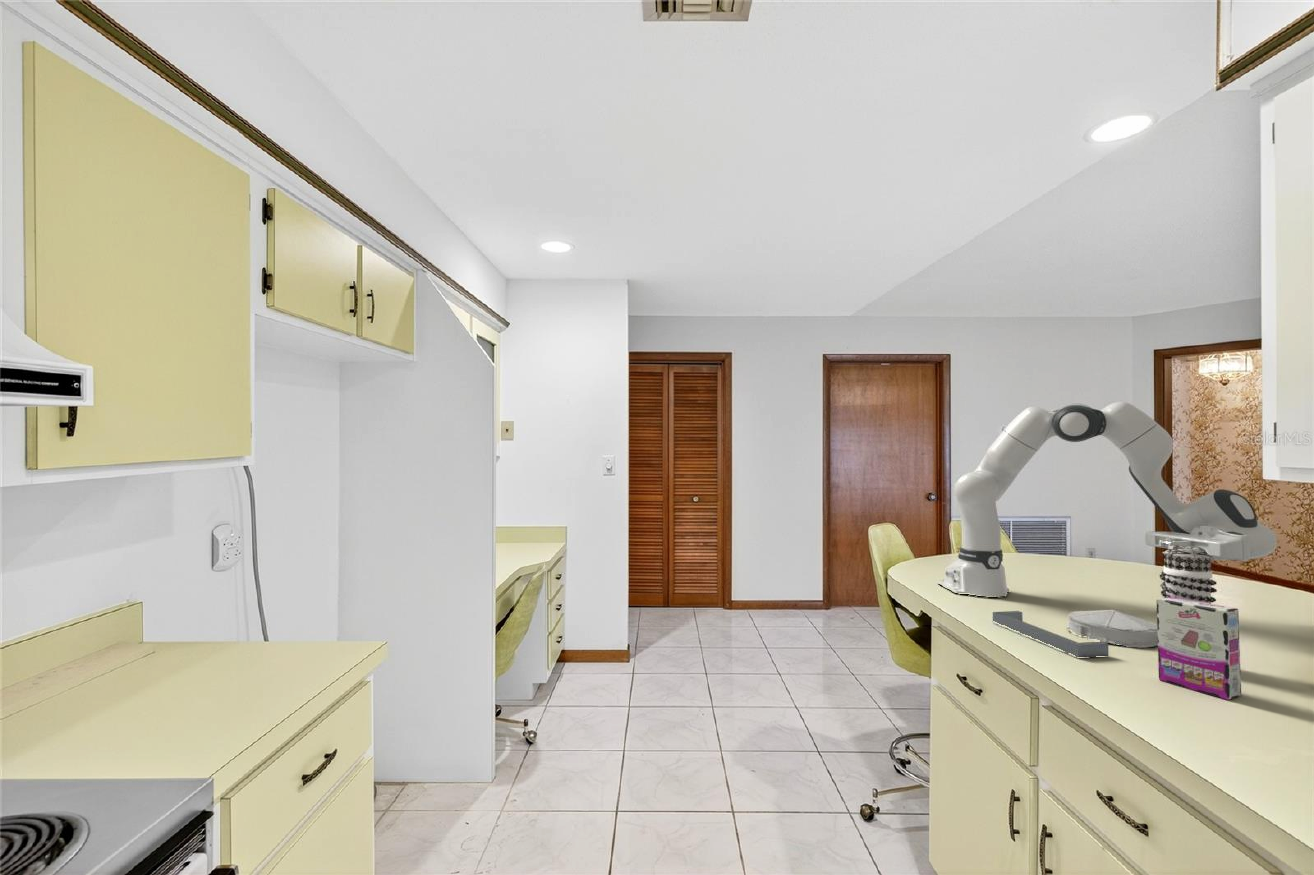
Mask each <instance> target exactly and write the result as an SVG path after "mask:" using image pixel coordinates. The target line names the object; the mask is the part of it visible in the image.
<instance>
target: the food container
mask: <svg viewBox="0 0 1314 875" xmlns="http://www.w3.org/2000/svg"><path fill="white" fill-rule="evenodd" d="M1067 616H1068V624H1069V627H1068V629H1070V630H1072V631H1073V632H1075V633H1076V634H1078V635H1081V636H1087V637H1089V639H1097V640H1100V641H1103V642H1105V643H1108V644H1109V643H1110V644H1112V645H1115V644H1119V645H1124V646H1126V647H1125V648H1138V649H1142V648H1145V649H1146V648H1151V647H1157V646H1158V631H1157V623H1156V624H1155V623H1153V622H1150V621H1148V620H1146V619H1143V618H1140V617H1136V616H1135V615H1131V614H1128V613H1125V612H1123V611H1122V612H1121V611H1119V610H1116V609H1108V610H1107V609H1105V610H1104V609H1103V610H1102V609H1100V610H1077V611H1071V612H1069V613H1068V614H1067ZM1124 646H1123V647H1124Z"/></svg>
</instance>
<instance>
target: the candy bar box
mask: <svg viewBox="0 0 1314 875" xmlns="http://www.w3.org/2000/svg"><path fill="white" fill-rule="evenodd" d="M1239 618H1240V617H1239V608H1236V607H1230V606H1225V605H1219V604H1214V603H1211V604H1209V603H1203V602H1197V601H1192V600H1186V599H1180V598H1174V597H1164V596H1163V597H1160V598H1157V599H1156V622H1157V623H1156V625H1157V631H1158V645H1157V658H1158V659H1157V660H1158V661H1157V662H1158V664H1157V665H1158V666H1157V667H1158V668H1157V669H1158V680H1159V681H1161V680H1163V681H1162V682H1164V681H1165V682H1164V683H1167V682H1169V683H1168V684H1171V685H1174V686H1177V685H1179V686H1178V687H1181V686H1182V687H1181V688H1184V687H1185V689H1188V690H1192V691H1196V692H1199V693H1201V694H1206V695H1208V696H1213V697H1216V698H1220V699H1222V700H1223V699H1224V700H1226V701H1231V700H1234V699H1236V698H1240V697H1241V696H1242V679H1241V677H1242V676H1241V652H1240V650H1241V649H1240V647H1241V646H1240V624H1239V620H1240V619H1239Z"/></svg>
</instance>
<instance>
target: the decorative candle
mask: <svg viewBox="0 0 1314 875" xmlns="http://www.w3.org/2000/svg"><path fill="white" fill-rule="evenodd" d="M1161 553H1162V554H1163V555H1164V559H1163V560H1164V564H1163V570H1162V571H1161V573H1160V574H1159V578H1160V580H1161V581H1163V582H1161V584H1160V585H1159V586H1160V587H1161V589H1162V590H1161V591H1160V594H1161V596H1162V597H1163V598H1164V597H1174V598H1180V599H1186V600H1192V601H1197V602H1203V603H1209V604H1212V603H1214V602H1216V601H1217V599H1216V598H1215V597H1213V596H1212V594H1214V593H1217V592H1218V591H1217V589H1216V588H1214V587H1212V586H1215V585H1217V581H1216V580H1214V578H1213V570H1212V561H1211V557H1212V556H1210V555H1208V553H1207V552H1206V551H1205V550H1204V549H1202V548H1199V547H1192V546H1170V547H1169V548H1168V549H1167V548H1166V550H1165V551H1162V552H1161Z"/></svg>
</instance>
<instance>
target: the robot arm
mask: <svg viewBox="0 0 1314 875" xmlns="http://www.w3.org/2000/svg"><path fill="white" fill-rule="evenodd" d="M1098 436H1101V437H1104V438H1106V439H1108V441H1110V442H1111V443H1112V444H1113V445H1115V447H1116V448H1117V449H1119V450H1120V451H1121V453H1123V455H1124V456H1125V458H1126V460H1127V461H1128V464H1129V466H1128V472H1129V474H1130V476H1131V477H1132V479H1133V480H1134V482H1135V483H1136V485H1137V486H1138V488H1140V490H1142V492H1143V493H1144V494H1145V496H1146V497H1147V498H1148V499H1149V500H1150V502H1151V503H1152V504H1153V505H1154V507H1155V508H1156V509H1157V511H1159V512H1158V513H1160V514H1161V516H1162V517H1163V519H1164V520H1165V522H1166V524H1167V525H1168V527H1169V529H1170V531H1147V532H1145V535H1144V541H1145V542H1144V543H1145V545H1147V546H1150V547H1155V548H1156V547H1157V548H1162V549H1166V550H1167V549H1168V548H1169V547H1170V546H1192V547H1199V548H1202V549H1204V550H1205V551H1206V552H1207V553H1208V555H1210V556H1212V557H1211V562H1212V561H1214V562H1215V561H1216V562H1217V561H1219V562H1220V561H1235V562H1250V560H1251V559H1252V560H1254V559H1259V558H1265V557H1266V556H1268V555H1271V554H1272V553H1273V552H1274V551H1275V550H1276V548H1277V546H1278V537H1277V535H1276V533H1275V531H1274V530H1272V528H1270V527H1269V526H1266V525H1265V524H1263V523H1262V522H1260V521H1259V520H1258V519H1257V518H1258V517H1257V513H1256V511H1255V509H1254V507H1253V505H1252V504H1251V502H1250V501H1249V500H1248V499H1247V498H1246V497H1244V496H1243V495H1241V494H1239V493H1237V492H1235V491H1232V490H1229V489H1224V488H1222V489H1217V490H1216V489H1215V490H1214V491H1212V492H1209V493H1207V494H1205V495H1203V496H1201V497H1199V498H1197V499H1194V500H1191V502H1189V503H1184V502H1183V501H1181V500H1180V499H1179V498H1178V497H1177V495H1176V494H1175V493H1174V492H1173V490H1172V488H1170V487H1169V485H1168V484H1167V483H1166V482H1165V481H1164V480H1163V476H1162V471H1163V469H1164V468H1163V467H1164V466H1165V464H1166V463H1167V461H1168V460H1169V459H1170V457H1171V456H1172V452H1173V450H1174V440H1173V438H1172V436H1171V435H1170V433H1169V432H1168V431H1167V429H1165V428H1164V427H1163V426H1161V425H1160V424H1159V423H1158V422H1156V421H1155V420H1154V419H1153V418H1152V417H1151V416H1149V415H1148V414H1147V413H1145V412H1144V411H1142V410H1141V409H1139V408H1137V407H1136V406H1134V405H1133V404H1131V403H1130V402H1126V401H1117V402H1112V403H1110V404H1107V406H1104V407H1103V408H1101V409H1096V408H1093V407H1091V406H1088V405H1087V404H1083V403H1070V404H1067V405H1064V406H1063V407H1061V408H1058V409H1057V410H1054V411H1049V410H1046V409H1045V408H1042V407H1038V406H1029V407H1027V408H1025V409H1023V410H1022V411H1021V412H1020V413H1018V415H1017V416H1015V417H1014V418H1013V419H1012V420H1011V421H1010V422H1009V424H1007V425H1006V427H1005V428H1004V429H1003V430H1002V432H1000V434H999V435H998V436H997V438H996V439H995V440H994V441H993V443H992V444H991V445H990V446H989V448H988V449H986V453H985V454H984V456H983V458H982V460H981V461H980V463H979V464H978V466H977V467H976V468H975V470H973V471H970V472H967V473H964V474H963V475H961V476H960V478H958V479H957V480H956V482H955V485H954V494H955V496H956V501H957V507H958V513H959V518H960V524H961V547H959V548H956V552H958V555H957V559H955V560H954V561H953V562H952V563H950V564H949V565H948V566H946V568H945V569H944V570H945V571H944V579H941V580H937V581H936V583H937V582H938V583H939V584H942V585H944V586H945V587H947V588H948V589H951V590H953V591H954V592H957V593H970V594H975V595H981V596H993V597H994V596H996V597H998V596H1005V595H1007V594H1008V593H1007V592H1009V591H1010V588H1008V586H1007V577H1006V570H1005V567H1004V565H1003V563H1002V562H1003V560H1004V559H1003V557H1004V554H1003V549H1002V548H1001V547H1002V546H1001V541H1002V540H1001V539H1002V538H1001V523H1000V521H999V515H998V511H997V502H998V501H999V500H1000V499H1001V498H1002V497H1003V495H1004V494H1005V493H1006V491H1007V490H1008V489H1009V488H1010V486H1011V485H1012V484H1013V483H1014V481H1015V479H1016V478H1017V476H1018V475H1019V474H1020V472H1021V471H1022V469H1024V468H1025V466H1026V465H1027V464H1028V462H1030V461H1031V459H1032V458H1033V457H1034V455H1035V454H1036V453H1037V452H1038V451H1039V450H1040V449H1041V447H1042V446H1043V445H1044V444H1045V443H1046V442H1047V441H1048V440H1050V438H1053V437H1058V438H1060V439H1061V440H1063V441H1067V442H1069V443H1079V442H1084V441H1087V440H1091V439H1092V438H1095V437H1098ZM1009 593H1010V592H1009ZM1007 596H1008V595H1007ZM1005 597H1006V596H1005ZM998 598H999V597H998Z"/></svg>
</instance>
